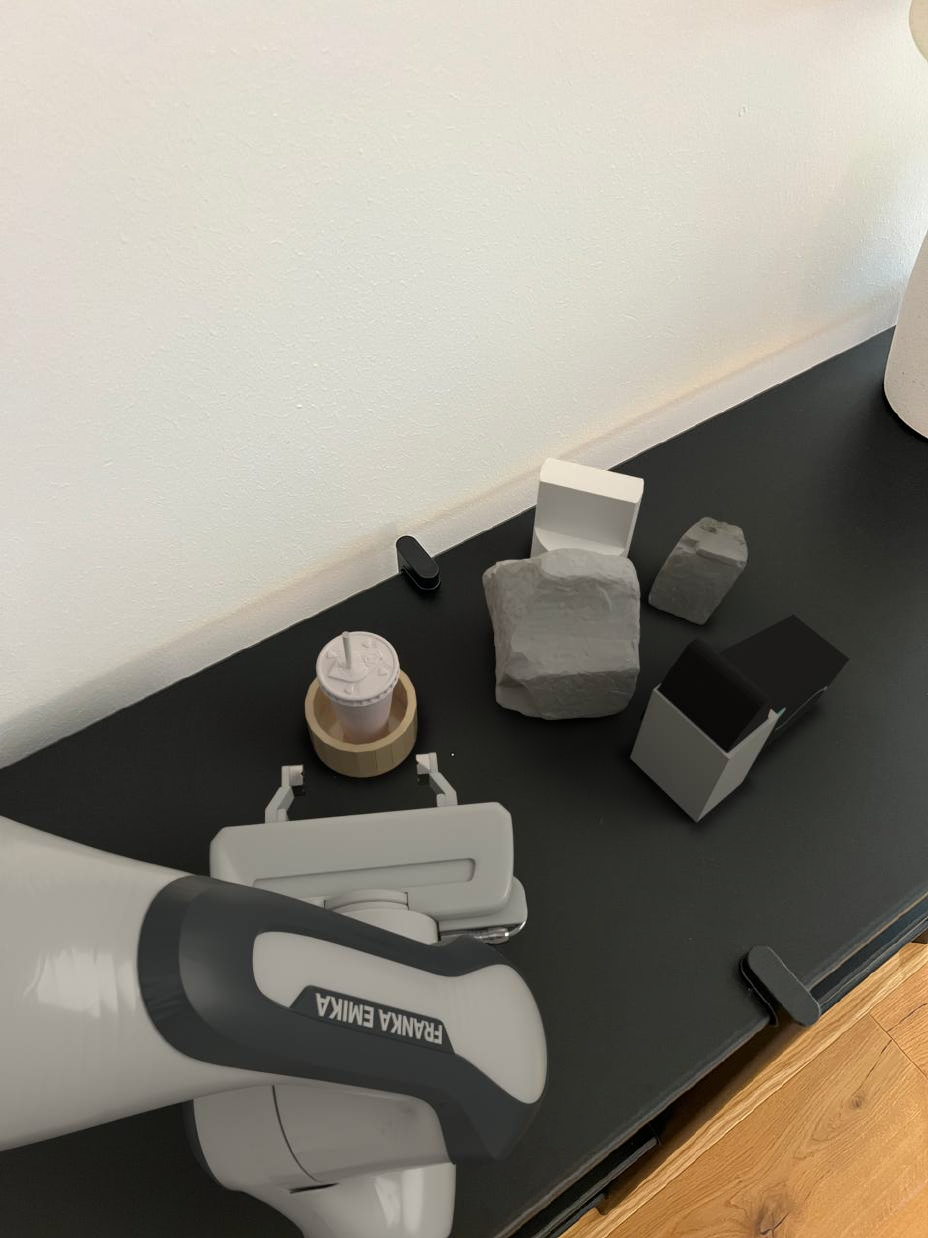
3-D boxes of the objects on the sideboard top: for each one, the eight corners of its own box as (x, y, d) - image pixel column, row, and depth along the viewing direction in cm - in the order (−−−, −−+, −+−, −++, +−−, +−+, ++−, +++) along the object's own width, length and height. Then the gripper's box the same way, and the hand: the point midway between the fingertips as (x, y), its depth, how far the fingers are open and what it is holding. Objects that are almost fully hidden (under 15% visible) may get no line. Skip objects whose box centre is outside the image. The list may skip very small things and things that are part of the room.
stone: (494, 734, 81) (503, 632, 69) (479, 617, 88) (485, 506, 76) (628, 723, 82) (661, 621, 69) (603, 609, 89) (628, 498, 77)
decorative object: (835, 700, 83) (902, 596, 71) (696, 822, 76) (744, 731, 64) (763, 640, 87) (815, 532, 75) (624, 752, 80) (656, 653, 68)
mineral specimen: (741, 631, 87) (744, 575, 80) (647, 619, 90) (642, 564, 83) (752, 569, 91) (756, 511, 84) (661, 560, 94) (658, 503, 87)
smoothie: (316, 712, 81) (295, 616, 70) (384, 683, 83) (375, 585, 72) (346, 773, 78) (329, 682, 66) (416, 741, 80) (411, 647, 68)
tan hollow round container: (298, 768, 79) (291, 742, 75) (326, 677, 84) (321, 649, 80) (405, 785, 78) (403, 760, 74) (426, 693, 83) (425, 665, 79)
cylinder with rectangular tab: (518, 591, 90) (527, 504, 80) (542, 523, 95) (553, 434, 85) (612, 614, 88) (632, 529, 79) (631, 544, 93) (652, 456, 84)
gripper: (536, 925, 58) (506, 728, 66) (197, 960, 57) (208, 754, 65) (529, 956, 63) (501, 769, 71) (218, 989, 62) (225, 794, 70)
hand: (360, 762), depth 68 cm, fingers open, 8 cm apart
